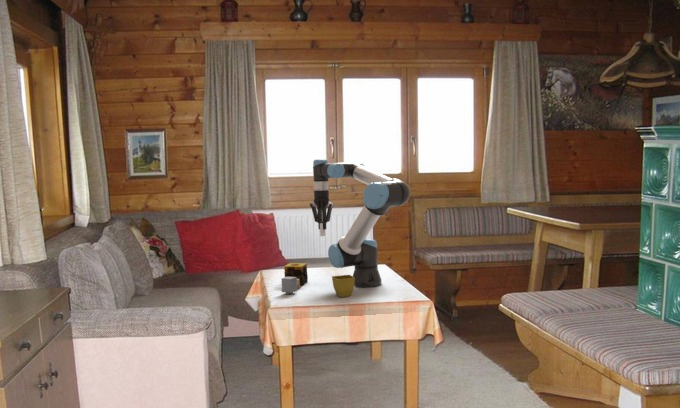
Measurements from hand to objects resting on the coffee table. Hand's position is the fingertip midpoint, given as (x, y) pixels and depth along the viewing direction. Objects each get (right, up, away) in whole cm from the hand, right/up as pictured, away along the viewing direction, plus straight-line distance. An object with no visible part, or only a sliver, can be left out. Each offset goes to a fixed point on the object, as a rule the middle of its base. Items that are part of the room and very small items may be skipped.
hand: (322, 235), depth 325 cm
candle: (-14, -25, +2) cm, 29 cm away
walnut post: (-15, -27, -21) cm, 37 cm away
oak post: (-13, -26, -12) cm, 31 cm away
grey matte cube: (-15, -25, -21) cm, 36 cm away
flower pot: (+11, -27, -30) cm, 41 cm away
